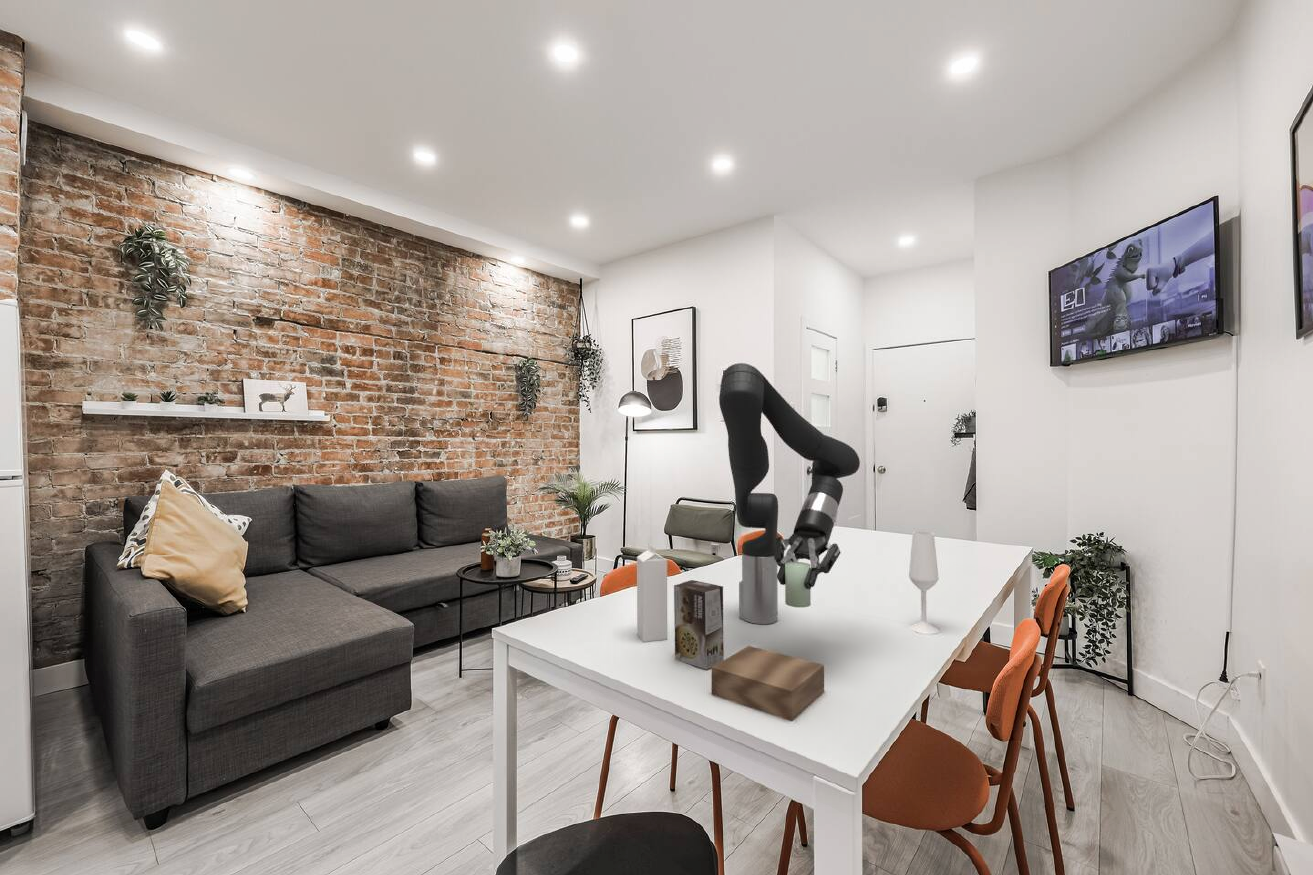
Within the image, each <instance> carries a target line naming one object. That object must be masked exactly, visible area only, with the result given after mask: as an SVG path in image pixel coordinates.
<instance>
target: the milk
mask: <svg viewBox="0 0 1313 875" xmlns="http://www.w3.org/2000/svg"><path fill="white" fill-rule="evenodd" d="M647 547H648V548H647V550H645V551H644V552H642V553H641V554H639V555H638V556H636V625H637V626H636V634H637V636H638V637H639V638H640V640H642V642H643V643H650V642H658V641H666V640H668V559H666V558H665V557H663V556H662V555H659V554H658V553H657V552H656V547H655V546H654V545H652V544H650V543H648V546H647Z"/></svg>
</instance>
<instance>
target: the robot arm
mask: <svg viewBox="0 0 1313 875" xmlns="http://www.w3.org/2000/svg"><path fill="white" fill-rule="evenodd" d="M721 376H722V377H721V380H720V381H721V382H720V389H719V396H718V397H719V398H718V399H719V400H718V402H719V407H720V409H719V410H720V411H721V415H722V419H723V421H724V425H725V428H726V432H727V448H728V460H729V466H730V471H731V475H732V481H733V486H734V498H735V501H734V502H735V513H736V520H737V522H738V523H739V525H740V526H741V527H743V528H749V529H751V528H752V529H764V530H765V531H764V532H763V533H762V534H761V535H759V536H757V537H755V538H751V539H748V540H745V541H743V543H742V545H741V573H742V574H741V575H742V576H741V578H742V579H741V581H739V582H738V618H739V619H742V620H744V621H745V622H747V623H752V624H757V625H758V624H759V625H767V624H775V623H777V621H778V620H779V619H778V617H779V609H778V608H779V606H778V604H779V603H778V602H779V601H778V600H779V598H778V595H779V594H778V589H779V588H778V582H779V584H780V585H783V586H785V563H788V562H799V561H800V560H804V559H805V560H808V561H809V562H810V568H809V570H808V573H807V576H806V579H805V582H804V585H805V587H806V589H812V588H814V587H815V584H816V583H817V579H818V576H819V575H820V574H821V573H824V574H829V573H830V571H831V570H832V568H833V566H834V565H835V563H836V561H837V560H838V558H839V557H840V555H841V550H840V547H839V545H838V544H837V543H832V544H831V543H829V541H830V539H831V535H832V532H833V529H834V525H835V523H836V521H837V516H838V510H839V505H840V503H841V500H842V496H843V493H844V486H843V484H842V482H841V481H840V480H839V479H841V478H845V477H849V476H853V475H854V474H856V473H857V472H858V470H859V468H860V465H861V460H860V457H859V455H858V453H857V451H856V450H855V449H854V448H853V446H850V445H849V444H847V443H845V442H843V441H841V440H838V439H836V438H834V437H832V436H829V435H826V434H824V433H823V432H822V431H820V430H819V429H817V428H816V427H815V426H814V425H813V424H811V423H810V422H809V421H808V420H806V418H804V417H803V416H802V415H800V413H798V411H796V409H795V408H793V406H791V405H790V404H789V402H788V401H787V400H786V399H785V398H784V397H783V396H782V395H781V394H780V393H779V391H777V390H776V388H774V386H773V385H772V383H771V382H769V380H768V379H767V378H766V377H765V375H764V374H763V373H762V372H761V371H760V370H759V369H758V368H757V367H755V366H754V365H751V364H748V363H743V362H742V363H741V362H738V363H733V364H732V365H729V366H728V367H727V368H726V369H725V370H724V371H723V374H722V375H721ZM762 414H763V415H764V416H765V418H766V420H768V422H769V424H771V426H772V428H773V429H774V431H775V432H776V434H777V435H778V436H779V438H780V439H781V440H782V441H783V443H784V444H786V445H787V447H789V448H790V450H793V451H794V452H795V453H797V454H798V455H799V456H800V457H802V458H804V459H805V460H807V461H810V462H812V463H811V485H810V488H809V491H808V493H807V496H806V498H805V500H804V502H803V504H802V507H801V509H800V512H799V514H798V517H797V520H796V523H795V526H794V529H793V533H792V535H791V536H789V538H785V539H783V538H782V537H781V536H778V524H779V522H778V521H779V520H778V519H779V502H778V501H779V500H778V497H777V495H776V494H774V493H770V492H767V493H766V492H753V491H754V490H755V489H756V487H758V486H759V485H760V484H761V483H762V481H763V480H764V479H765V478H766V476H767V475H768V473H769V469H770V460H769V458H770V457H769V449H768V444H767V442H766V440H765V437H763V435H762V426H761V425H762ZM789 546H790V547H789ZM788 547H789V548H788ZM787 548H788V549H787ZM786 550H787V551H786ZM785 551H786V554H785ZM824 552H826V554H825V555H824V557H823V558H822V560H821V561H820V556H821V555H822V554H823V553H824ZM778 567H779V569H778Z"/></svg>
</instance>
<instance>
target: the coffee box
mask: <svg viewBox="0 0 1313 875" xmlns="http://www.w3.org/2000/svg"><path fill="white" fill-rule="evenodd" d="M673 608H674V610H673V613H674V614H673V615H674V621H673V622H674V660H677V661H680V662H683V663H686V664H688V665H692V666H695V667H698V668H700V669H703V670H709V669H712V667H713V666H715V665H716V664H718V663H720V662H722V661H723V660H725V658H724V656H725V655H724V653H725V652H724V586H723V585H722V586H721V585H717V584H713V583H709V582H704V581H699V580H693V579H691V580H687V581H684V582H681V583H678V584H674V585H673Z"/></svg>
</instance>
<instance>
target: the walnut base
mask: <svg viewBox="0 0 1313 875" xmlns="http://www.w3.org/2000/svg"><path fill="white" fill-rule="evenodd" d="M823 693H825V664H822V663H818V662H815V661H810V660H806V659H804V658H803V659H802V658H798V657H794V656H790V655H786V654H782V653H779V652H775V651H771V650H767V649H764V648H763V649H762V648H760V647H756V646H751V645H748V646H746V647H744V648H742V649H740V650H739V651H737V652H736V653H734V654H732V655H730V656H729V657H727V658H724V660H723V661H722V662H720V663H718V664H716V665H715V666H713V667H711V695H712V694H713V695H712V696H716V697H719V698H721V699H724V700H728V701H730V702H734V703H737V704H739V705H742V706H746V707H748V708H752V709H754V710H758V711H761V712H764V713H765V714H770V715H772V714H774V715H773V716H775V715H776V716H775V717H778V716H779V718H781V717H782V719H784V720H788V721H791V722H793V720H794V719H795V720H796V718H797V717H798V716H799V715H800V714H802V713H803V712H804V711H805V710H806V709H807V708H808V707H809V706H810V705H812V703H814V702H815V701H816V700H817V699H818V698H819V697H820V696H821V695H822V694H823Z"/></svg>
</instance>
